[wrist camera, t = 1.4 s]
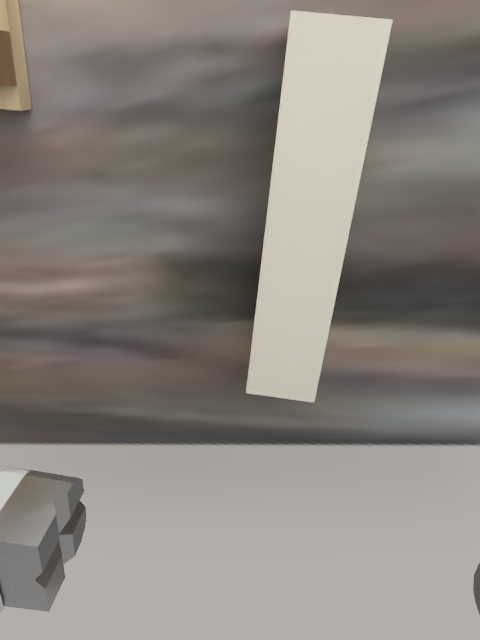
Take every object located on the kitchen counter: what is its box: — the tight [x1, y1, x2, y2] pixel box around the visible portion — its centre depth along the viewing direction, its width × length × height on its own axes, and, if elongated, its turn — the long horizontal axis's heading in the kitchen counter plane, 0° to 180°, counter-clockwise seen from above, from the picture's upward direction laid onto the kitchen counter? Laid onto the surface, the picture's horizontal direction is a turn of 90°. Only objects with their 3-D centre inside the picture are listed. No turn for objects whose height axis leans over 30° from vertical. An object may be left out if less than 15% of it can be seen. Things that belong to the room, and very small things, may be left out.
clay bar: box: [246, 10, 393, 403], centre depth 20 cm, size 15×3×5 cm, turn 175°
